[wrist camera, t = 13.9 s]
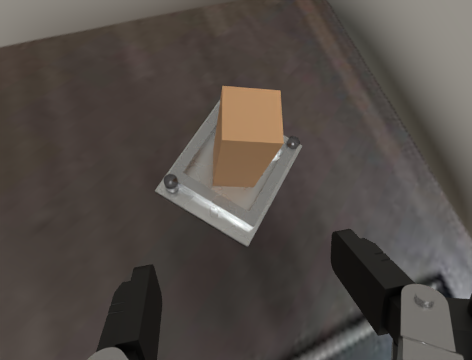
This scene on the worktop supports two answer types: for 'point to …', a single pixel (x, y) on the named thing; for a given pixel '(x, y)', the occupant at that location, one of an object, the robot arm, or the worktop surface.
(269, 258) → the worktop surface
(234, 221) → the plate
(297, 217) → the worktop surface
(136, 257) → the worktop surface
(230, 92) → the tan block
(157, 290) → the robot arm
